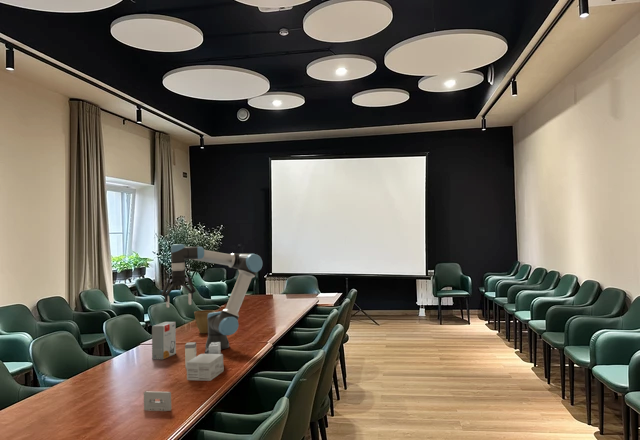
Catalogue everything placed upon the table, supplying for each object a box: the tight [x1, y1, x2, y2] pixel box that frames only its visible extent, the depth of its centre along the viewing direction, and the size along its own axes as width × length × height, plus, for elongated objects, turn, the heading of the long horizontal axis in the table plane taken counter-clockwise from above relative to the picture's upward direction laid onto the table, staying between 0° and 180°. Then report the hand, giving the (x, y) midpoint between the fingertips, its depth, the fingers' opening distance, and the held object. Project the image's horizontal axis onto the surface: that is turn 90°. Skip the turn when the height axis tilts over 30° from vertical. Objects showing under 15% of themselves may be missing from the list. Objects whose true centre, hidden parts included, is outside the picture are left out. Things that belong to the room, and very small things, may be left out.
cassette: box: [143, 390, 172, 412], centre depth 200 cm, size 12×2×8 cm, turn 81°
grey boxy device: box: [209, 342, 222, 354], centre depth 266 cm, size 9×10×12 cm
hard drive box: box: [151, 321, 177, 361], centre depth 291 cm, size 16×8×20 cm, turn 168°
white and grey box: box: [184, 341, 197, 370], centre depth 265 cm, size 9×6×13 cm, turn 94°
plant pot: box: [193, 309, 215, 334], centre depth 361 cm, size 15×15×16 cm
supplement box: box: [186, 353, 225, 382], centre depth 248 cm, size 17×13×9 cm
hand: (179, 305), depth 283 cm, fingers open, 13 cm apart
